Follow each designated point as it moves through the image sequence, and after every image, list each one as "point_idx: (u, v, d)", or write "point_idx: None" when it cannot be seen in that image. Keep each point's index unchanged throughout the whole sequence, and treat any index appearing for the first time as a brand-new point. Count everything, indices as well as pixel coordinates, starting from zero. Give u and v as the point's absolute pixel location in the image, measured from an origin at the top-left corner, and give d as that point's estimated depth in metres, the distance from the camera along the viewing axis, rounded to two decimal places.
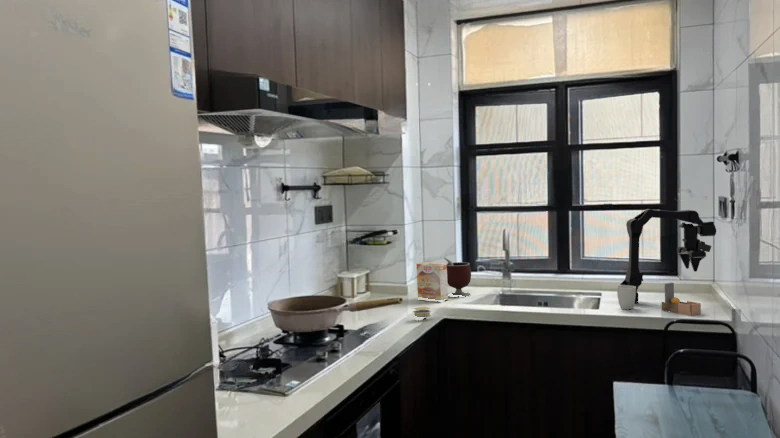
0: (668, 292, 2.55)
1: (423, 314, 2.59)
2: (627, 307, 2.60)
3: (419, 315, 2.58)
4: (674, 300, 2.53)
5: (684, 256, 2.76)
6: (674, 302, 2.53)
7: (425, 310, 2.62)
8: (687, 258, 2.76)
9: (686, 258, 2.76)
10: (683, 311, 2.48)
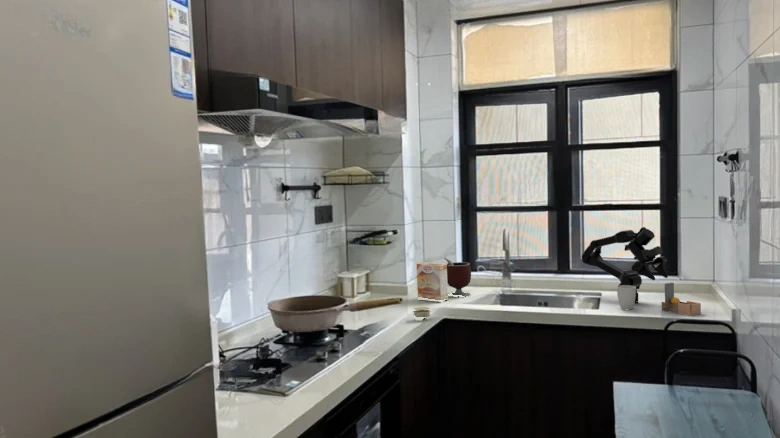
0: (668, 292, 2.55)
1: (423, 314, 2.59)
2: (627, 307, 2.60)
3: (419, 315, 2.59)
4: (674, 300, 2.53)
5: (657, 269, 2.66)
6: (674, 302, 2.53)
7: (425, 310, 2.62)
8: (660, 268, 2.65)
9: (660, 269, 2.65)
10: (683, 311, 2.48)
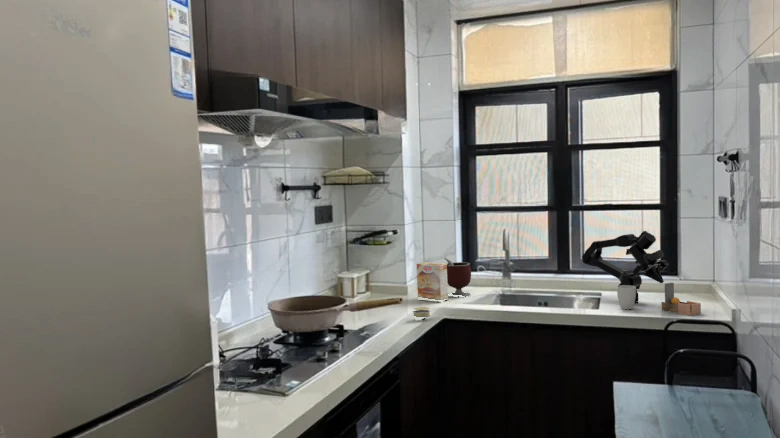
0: (668, 292, 2.55)
1: (422, 314, 2.59)
2: (627, 307, 2.60)
3: (419, 315, 2.59)
4: (674, 300, 2.53)
5: None
6: (674, 302, 2.53)
7: (424, 310, 2.62)
8: None
9: None
10: (683, 311, 2.48)
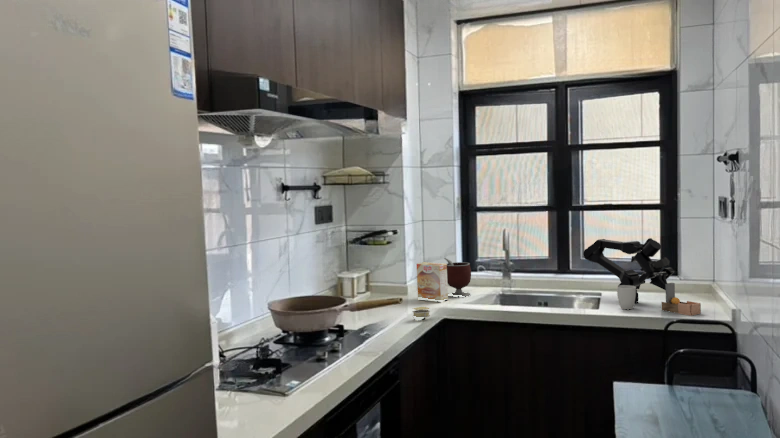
0: (669, 293, 2.55)
1: (422, 314, 2.59)
2: (627, 307, 2.60)
3: (418, 315, 2.59)
4: (674, 300, 2.53)
5: None
6: (674, 302, 2.53)
7: (424, 310, 2.62)
8: None
9: None
10: (683, 311, 2.48)
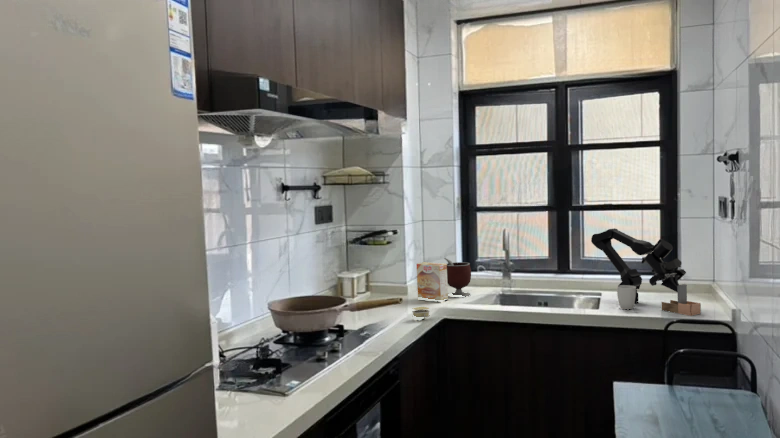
0: (681, 294, 2.50)
1: (422, 314, 2.59)
2: (627, 307, 2.60)
3: (418, 315, 2.59)
4: None
5: None
6: None
7: (424, 310, 2.62)
8: None
9: None
10: (683, 311, 2.48)
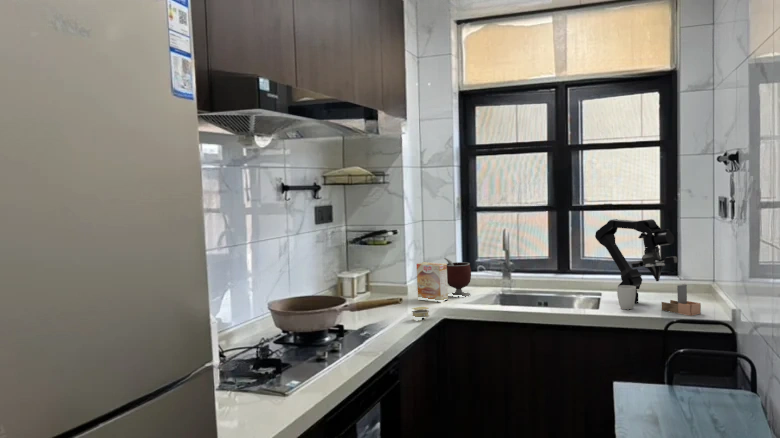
0: (681, 294, 2.50)
1: (422, 314, 2.60)
2: (627, 307, 2.60)
3: (418, 315, 2.59)
4: None
5: None
6: None
7: (423, 310, 2.62)
8: None
9: None
10: (683, 311, 2.48)
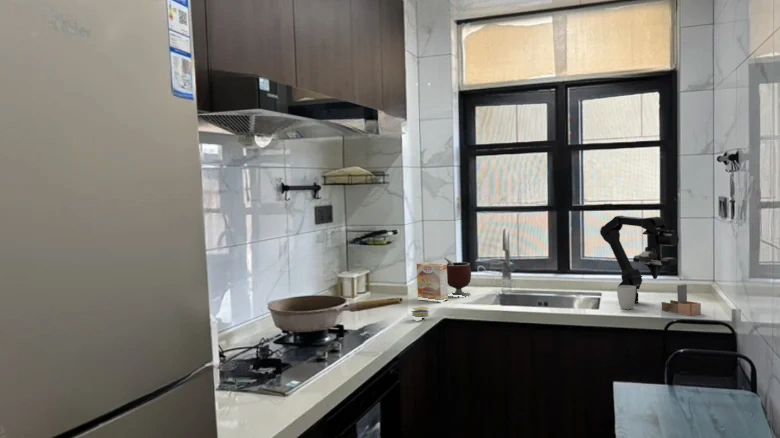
0: (681, 294, 2.50)
1: (421, 314, 2.60)
2: (627, 307, 2.60)
3: (417, 315, 2.59)
4: None
5: None
6: None
7: (423, 310, 2.62)
8: None
9: None
10: (683, 311, 2.48)
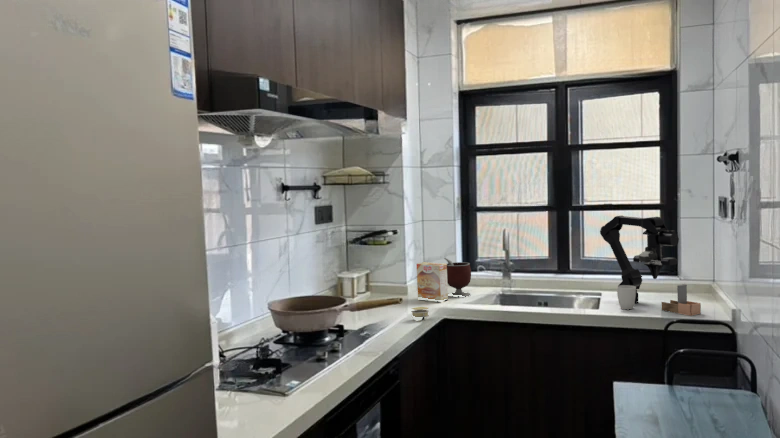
0: (681, 294, 2.50)
1: (421, 314, 2.60)
2: (627, 307, 2.60)
3: (417, 315, 2.59)
4: None
5: None
6: None
7: (423, 310, 2.62)
8: None
9: None
10: (683, 311, 2.48)
